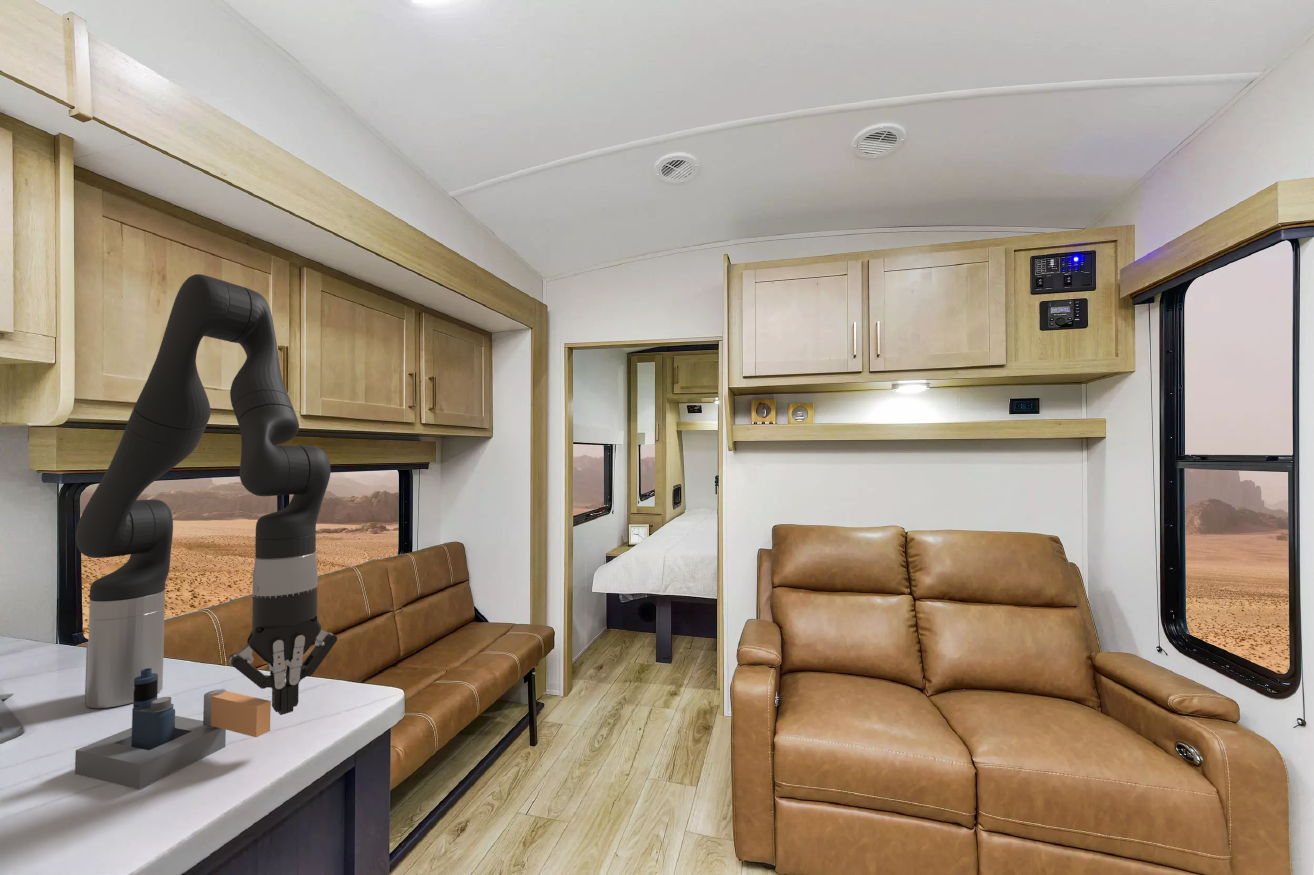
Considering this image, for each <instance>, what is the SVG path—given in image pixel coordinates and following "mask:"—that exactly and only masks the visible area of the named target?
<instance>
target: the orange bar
mask: <svg viewBox="0 0 1314 875" xmlns="http://www.w3.org/2000/svg"><path fill="white" fill-rule="evenodd" d="M271 707H272V700H269V699H268V700H267V699H264V698H259V697H255V696H249V695H245V694H241V693H237V692H231V691H228V690H227V689H226V688H220V689H214V690H209V691H208V692H206V693H204V694H203V712H202V713H203V715H202V716H203V717H202V718H203V720H202V721H203V725H204V726H214V727H218V728H222V729H226V731H229V732H234V733H237V734H241V735H245V736H249V737H253V738H259V737H260V736H263V735H265V734H267V733H269V732H270V731H271Z"/></svg>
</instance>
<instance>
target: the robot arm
mask: <svg viewBox="0 0 1314 875" xmlns="http://www.w3.org/2000/svg"><path fill="white" fill-rule="evenodd" d="M270 308H271V307H270V306H269V303H268V301H267V299H266V298H265V297H264V296H263V295H262V294H261V293H259V292H258V291H255V290H253V289H250V288H247V287H244V286H241V285H238V284H235V283H232V282H228V281H225V280H222V279H219V278H216V277H214V276H213V277H212V276H209V275H205V274H199V273H198V274H197V273H195V274H193V275H191V276H189V277H187V278H186V280H185V281H184V282H182V284H181V285H180V287H179V290H178V291H177V294H176V295H175V299H174V302H173V304H172V308H171V310H170V315H169V317H168V320H167V324H166V327H165V330H164V333H163V336H162V340H161V343H160V346H159V349H158V352H157V354H156V358H155V361H154V363H153V365H152V367H151V370H150V372H149V375H148V377H147V380H146V382H145V383H144V385H143V388H142V389H141V392H140V394H139V396H138V398H137V401H136V402H135V403H134V404H135V405H134V407H133V409H132V411H131V413H130V416H129V419H128V420H127V423H126V425H125V429H124V431H123V434H122V437H121V439H120V442H119V444H118V446H117V448H116V450H115V453H114V455H113V456H112V458H111V459H112V460H111V461H110V464H109V466H108V468H107V470H106V471H105V473H104V475H103V476H102V478H101V480H100V481H99V483H98V485H97V487H96V489H95V490H94V492H93V494H92V495H91V497H90V498H89V500H88V502H87V504H86V506H85V507H84V508H83V511H82V513H81V514H80V517H79V520H78V522H77V526H76V533H75V542H76V547H77V549H78V551H79V552H80V554H82V555H83V556H85V557H88V558H92V559H105V558H107V559H108V558H115V557H122V556H129V558H128V560H127V561H126V562H125V563H124V564H123V565H121V566H120V567H119V568H118V569H116V570H113V571H112V572H110V573H108V574H106V575H104V576H102V577H100V578H97V579H96V580H94V581H93V582H92V583H91V584H90V588H89V603H88V605H89V608H88V610H89V611H88V641H87V642H88V643H87V644H86V651H85V652H86V653H85V654H86V655H85V680H84V681H85V683H84V684H85V685H84V701H86V702H85V704H86V707H87V708H90V709H107V708H113V707H120V706H124V705H128V704H132V703H133V701H134V689H135V688H134V687H135V685H134V679H135V678H136V677H138V676H141V670H143V669H147V668H151V669H152V673H157V674H158V692H157V694H158V693H159V692H160V691H161V690H163V684H164V680H163V678H164V653H165V652H164V651H165V650H164V649H165V648H164V647H165V645H164V644H165V615H166V614H165V612H166V611H165V608H166V606H165V605H166V604H165V602H166V599H165V598H166V582H167V579H168V577H169V574H170V573H169V572H170V568H171V567H170V566H171V556H172V554H171V553H172V545H173V534H174V518H173V515H172V514H173V513H172V511H171V509H170V507H169V506H168V504H167V503H166V502H165V501H162V500H159V499H152V498H151V499H138V498H139V497H140V495H141V494H142V493H143V492H144V490H146V489H147V488H148V487H149V486H150V485H151V484H152V483H154V482H155V481H156V480H158V479H159V478H160V477H162V476H163V475H165V474H166V473H168V472H169V471H170V470H172V469H173V468H175V467H176V466H177V465H179V464H180V463H182V462H183V461H184V460H185V459H186V458H188V457H189V456H190V455H191V454H192V453H193V452H194V451H195V449H196V448H197V447H198V445H199V443H200V441H201V439H202V437H203V434H204V433H205V430H206V428H207V426H208V423H209V420H210V417H211V414H212V413H211V405H210V401H209V397H208V395H207V392H206V390H205V387H204V385H203V382H202V381H201V378H200V375H199V372H198V368H197V360H196V359H197V353H198V348H199V346H200V344H201V341H202V339H203V338H204V337H208V338H212V339H217V340H221V341H225V342H229V343H235V344H239V345H240V346H241V347H242V348H243V351H244V354H245V355H246V359H245V361H244V363H243V364H242V366H241V368H239V370H238V372H237V373H236V374H235V377H234V378H233V380H232V382H231V385H230V391H229V398H230V402H231V406H232V410H233V413H234V415H235V418H236V421H237V425H238V427H239V430H240V434H241V435H240V437H241V438H240V439H241V454H240V455H241V456H240V465H239V480H240V482H241V484H242V486H243V488H245V489H246V490H247V491H248V492H249V493H251V494H252V495H255V496H258V497H276V496H291V495H293V496H292V498H291V500H290V502H289V504H288V505H287V506H286V507H285V508H283V509H281V510H277V511H273V512H271V513H267V514H264V515H262V516H260V517H259V518H258V519H257V521H256V524H255V540H254V542H255V543H254V544H255V551H254V552H255V553H254V554H255V555H254V556H255V558H254V566H253V571H252V572H253V573H252V608H251V609H252V611H251V612H252V617H251V618H252V622H251V624H252V626H251V627H252V629H251V632H250V634H249V635H248V637H247V640H246V643H247V644H246V645H245V646H243V647H242V648H241V649H240V650H239V651H238V652H235V653H234V652H233V653H232V654H230V655H229V656H228V658H227V659H228V662H229V663H230V664H231V666H232V667H233V668H234V669H236V670H237V671H239V673H241V674H242V675H243V676H244V677H246V678H247V679H249V680H250V681H251V682H252V683H253V684H254V685H256V686H257V687H258V688H260V689H262V690H264V689H267V688H269V689H271V707H272V708H273V710H274V711H275V713H278V714H279V715H280V716H283V715H286V714H289V713H293V712H294V707H297V706H298V704H299V689H300V688H299V685H300V682H301V681H302V680H303V679H305V678H306V677H311V676H313V674H314V673H315V672H316V670H317V669H318V667H319V666H320V665H321V663H322V662H323V661H324V659H325V658H326V657H327V655H328V653H330V651H331V650H332V648H333V647H334V646H335V644H336V643H337V641H338V637H337V635H336V634H333V633H332V632H330V631H326V630H323V629H322V626H321V624H320V622H319V619H318V582H319V574H318V573H319V572H318V569H319V568H318V561H317V554H316V553H317V552H316V549H317V548H316V546H317V545H316V544H317V538H316V537H317V534H316V532H317V530H316V528H317V527H316V526H317V521H318V518H319V514H320V510H321V507H322V503H323V499H324V497H325V495H326V494H325V493H326V491H327V488H328V485H329V482H330V478H331V462H330V459H329V457H328V455H327V453H325V451H324V450H323V449H322V448H320V447H319V446H315V445H282V444H285V443H288V442H289V441H291V440H293V438H295V437H296V436H297V434H298V433H299V430H300V424H299V420H298V417H297V414H296V411H295V409H294V406H293V404H292V402H291V399H290V397H289V394H288V391H287V389H286V386H285V384H284V379H283V376H282V372H281V365H280V357H279V350H278V344H277V338H276V331H275V327H274V320H273V315H272V312H271V311H272V310H271V309H270ZM313 643H314V645H315V646H314V647H313V649H312V650H311V651H310V653H309V654H308V655H307V657H306V658H305V660H304V661H303V657H304V655H305V654H306V653H307V652H308V650H309V649H310V648H311V646H312V645H313ZM253 652H255V654H256V655H258V656H259V657H260V658H261V659H262V660H263V661H264V662H265V663H267V664H268V668H269V675H268V674H264V673H262V672H261V671H260V670H259V669H257V667H255V666H254V665H253V664H252V663H253V661H254V656H253Z"/></svg>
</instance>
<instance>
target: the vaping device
mask: <svg viewBox="0 0 1314 875" xmlns="http://www.w3.org/2000/svg"><path fill="white" fill-rule="evenodd" d="M134 685H135V687H134V688H135V689H134V701H133V707H132V710H131V711H132V713H131V715H132V716H131V728H132V742H131V747H135V748H140V749H144V750H151V749H154V748H156V747H158V746H160V745H163V744H165V743H167V742H169V741H171V740H174V739H175V716H176V709H175V708H174V705H175V704H174V703H172V697H171V696H163V697H159V698H158V693H159V692H158V674H157V673H152V669H151V668H147V669H143V670H141V676H138V677H136V678H135V679H134ZM157 692H158V693H157Z"/></svg>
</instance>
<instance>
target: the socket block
mask: <svg viewBox="0 0 1314 875" xmlns="http://www.w3.org/2000/svg"><path fill="white" fill-rule="evenodd" d="M226 732H227V730H226V729H222V728H218V727H214V726H204V725H203V720H200V719H195V718H190V717H184V716H178V715H175V739H174V740H171V741H169V742H167V743H165V744H163V745H160V746H158V747H156V748H154V749H151V750H144V749H140V748H135V747H131V742H132V727H130V728H127V729H124V730H122V731H120V732H117V733H115V734H112V735H110V736H107V737H105V738H102V739H100V740H97V741H95V742H92V743H89V744H88V745H85V746H83V747H80V748H78V749H75V757H74V775H79V776H83V777H86V778H90V779H94V780H99V781H103V782H108V783H110V784H111V783H112V784H115V785H119V786H124V787H127V788H131V789H134V790H135V789H136V790H142V789H144V788H146V787H147V786H150V785H151V784H154V783H155V782H157V781H160V780H162V779H164V778H165V777H167V776H170V775H171V774H173V773H176V772H178V771H179V770H181V769H184V768H185V767H188V766H190V765H191V764H193V763H196V762H197V761H199V760H202V759H204V758H205V757H207V756H209V755H212V754H214V753H216V752H218V751H220V750H221V749H224V748H225V747H226V734H227V733H226Z"/></svg>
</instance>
